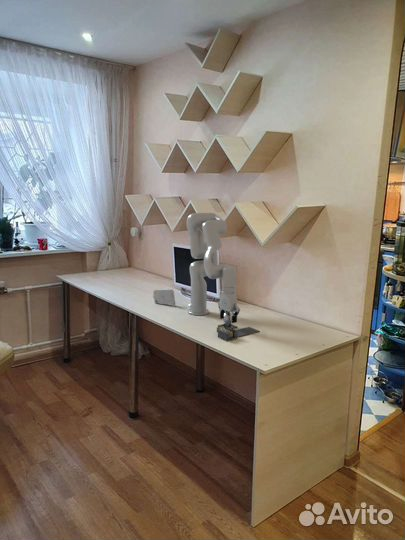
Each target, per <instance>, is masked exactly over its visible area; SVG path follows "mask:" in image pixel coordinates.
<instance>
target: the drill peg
mask: <svg viewBox="0 0 405 540" xmlns="http://www.w3.org/2000/svg"><path fill="white" fill-rule="evenodd" d="M223 324H224V326H223V327H225V328H227V327H229V328H230V327H232V326H231V324H232V313H231V312H228V311H225V313H224V318H223Z"/></svg>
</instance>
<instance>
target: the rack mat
mask: <svg viewBox="0 0 405 540" xmlns="http://www.w3.org/2000/svg"><path fill="white" fill-rule="evenodd" d="M235 330H236V331H238V335H237V338H241V337H245V336H249V335H254V334H256V333H259V332H260V330H259V329H256V328H254V327H251V326H246V327H243V328H239V329H238V328H237V329H235Z"/></svg>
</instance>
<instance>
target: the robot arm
mask: <svg viewBox="0 0 405 540" xmlns="http://www.w3.org/2000/svg"><path fill="white" fill-rule="evenodd" d="M186 229H187V231H188V238H189V247H190V255H191V257H192V259H194V260H195V259H198V260H197V261H196V260H195V261H193V262H192V263H190V265H189V275H190V303H189V304H188V305H187V306H188V307H189V309H188V310H187V312H188V314H190V315H192V316H204V315H208V314H209V313H210V310H209V309H208V308H207V300H208V299H207V298H208V297H207V296H208V293H207V292H208V291H207V290H208V289H207V287H208V285H207V282H206V280H205V279H204V278H205V277H208V279H211V280H215V279H221V291H220V294H219V301H218V302H217V305H218V309H219V315H220V316H219V317H220V318H219V319H220V320H222V319H223V320H224V313H225V312H226V311H228V312H230V313H231V324H235V323H237V322H238V315H239V314H240V312H241V308H240V307H239V306H238V297H237V269H236V267H234V266H231V265H230V264H226V263H222V264H220V263H218V250H220V249H221V248H222V247H223V243H222V239H221V236H223V235H225V234H226V233H227V231H228V226H227V223H226V222H225V220H224V219H222V218H221V216H219V215H217V214H216V213H214V212H195V213H194V212H193V213H191V214H189V215H188V216H187V218H186ZM201 229H202V230H201ZM199 259H203V260H199Z"/></svg>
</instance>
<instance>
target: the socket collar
mask: <svg viewBox="0 0 405 540" xmlns="http://www.w3.org/2000/svg"><path fill="white" fill-rule="evenodd" d="M220 326H221V327H223V328H225V327H224V323H221V324H218V325H217V327H220ZM230 328H232V329H234V330H236V329H238V326H237V325H235V324H234V323H231V327H230ZM225 329H226V328H225Z"/></svg>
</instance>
